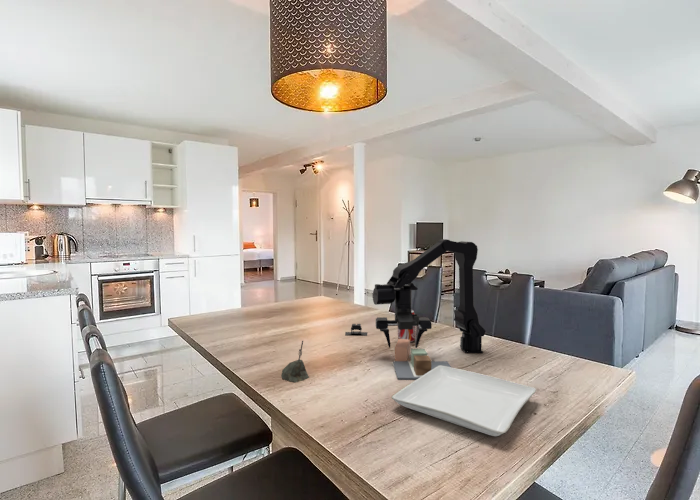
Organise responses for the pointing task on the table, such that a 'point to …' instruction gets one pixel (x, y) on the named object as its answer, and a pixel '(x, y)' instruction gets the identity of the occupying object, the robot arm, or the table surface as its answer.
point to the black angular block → (354, 333)
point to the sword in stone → (295, 370)
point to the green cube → (417, 354)
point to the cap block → (402, 350)
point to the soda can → (407, 333)
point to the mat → (412, 369)
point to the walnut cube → (422, 364)
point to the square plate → (466, 399)
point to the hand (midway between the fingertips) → (402, 347)
